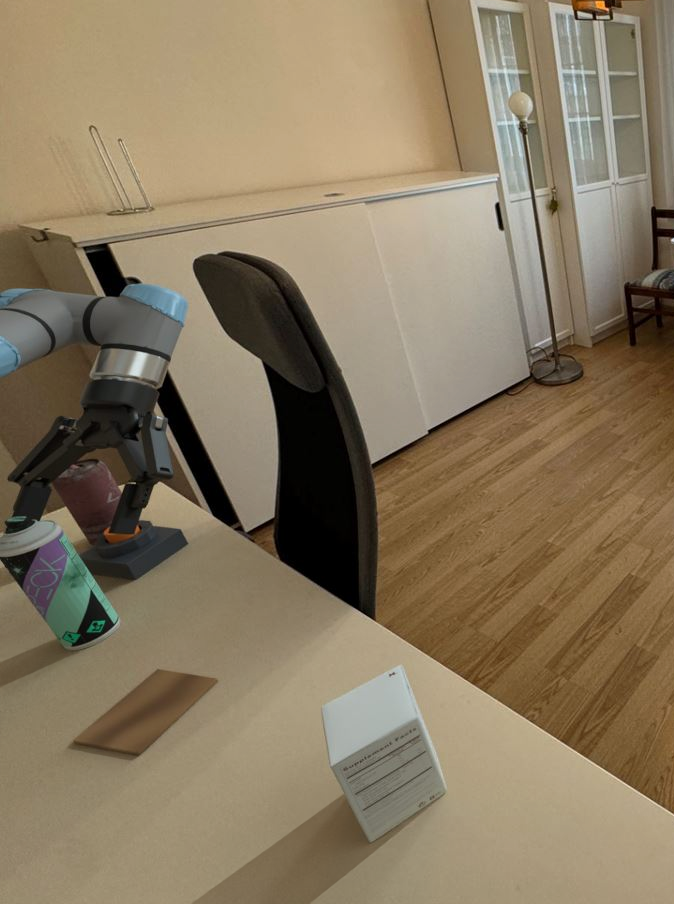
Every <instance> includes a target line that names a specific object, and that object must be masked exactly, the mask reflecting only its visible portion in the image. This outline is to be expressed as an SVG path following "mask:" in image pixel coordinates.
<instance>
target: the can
mask: <svg viewBox="0 0 674 904" xmlns="http://www.w3.org/2000/svg"><path fill="white" fill-rule="evenodd" d="M50 484H51V486H52V488H53V489H54V490H55V492H56V493H57V495H58V496H59V498H60V499H61V502H62V503H63V504H64V506H65V507H66V509H67V510H68V512H69V514H70V515H71V517H72V518H73V520H74V521H75V523H76V525H77V526H78V527H79V529H80V531H81V532H82V534H83V535H84V537H85V538H86V540H87V542H88V544H90V545H92V546H94V542H95V541H96V540H97V539H98V538H99V537H100V536H101V535H103V534H104V531H105V530H106V529H107V528H109V527H110V526H111V523H112V520H113V517H114V515H115V512H116V509H117V506H118V503H119V500H120V497H121V494H122V491H121V488H120V487H119V485H118V484H117V482H116V480H115V478H114V477H113V475H112V473H111V472H110V470H109V468H108V466H107V464H106V462H103V461H101V460H100V459H98V458H86V459H85V458H84V459H81V460H80V459H79V460H78V461H77V462H75V463H74V464H73V465H72V466H71V467H69V468H68V469H67V470H66V471H65V472H63V473H62V474H61V475H60V476H59V477H57V478H56V479H55V480H54V481H52V482H51V483H50Z"/></svg>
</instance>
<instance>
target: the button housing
mask: <svg viewBox="0 0 674 904" xmlns="http://www.w3.org/2000/svg"><path fill="white" fill-rule="evenodd" d="M137 525H138V527H139V529H140V531H139V533H137V534H136V535H134V536H132V537H131V538H128V539H126V540H123V541H121V542H116V543H109V542H108V540H107V539H106V537H105V535H104V534H103V535H101V536H100V537H99V538H98V539H97V540H96V541H95V542H94V545H92V546H91V547H89V548H87V549H86V550H84V551H82V552H80V553H78V555H79V557H80V558H81V560H82V561H83V563H84V564H85V566H86V567H87V569H88V570H89V572H90V573H91V575H96V576H103V577H112V578H117V579H118V578H119V579H127V580H133V581H136V580H138V579H140V578H141V577H143V575H145V574H146V573H148V572H149V571H151V570H153V569H154V568H155V567H157V566H158V565H160V564H161V563H163V562H164V561H166V560H167V559H169V558H170V557H172V556H173V555H174V554H175V553H178V552H179V551H180V550H182V549H183V548H184V547H186V546H187V545H189V541H188V540H187V539H186V536H185V535H184V533H183V530H182V529H181V528H176V527H175V528H174V527H167V526H157V525H153V523H152V521H150V520H144V519H139V521H138V524H137Z"/></svg>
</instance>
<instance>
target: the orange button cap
mask: <svg viewBox="0 0 674 904" xmlns="http://www.w3.org/2000/svg"><path fill="white" fill-rule="evenodd" d="M109 529H110V527H109V528H107V529H106V530H105V531H104V535H105V537H106V539H107V540H108V542H109V543H116V542H121V541H123V540H126V539H128V538H131V537H132V536H134V535H136V534H137V533H139V531H140V529H139V527H138V525H137V527H136V530H135V533H134V534H131V535H127V534H111V533H108V532H109Z"/></svg>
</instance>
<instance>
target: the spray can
mask: <svg viewBox="0 0 674 904" xmlns="http://www.w3.org/2000/svg"><path fill="white" fill-rule="evenodd" d="M4 524H5V526H6V528H5V529H4V530H3V532H2V534H3V535H1V536H0V562H1V563H2V564H3V566H4V567H5V568H6V570H7V571H8V573H9V574H10V575H11V577H12V578H13V579H14V581H15V582H16V583H17V585H18V587H20V589H21V591H22V592H23V593H24V594H25V596H26V597H27V598H28V599H29V601H30V603H31V604H32V606H33V607H34V608H35V610H36V611H37V613H38V614H39V615H40V616H41V618H42V619H43V621H44V622H45V623H46V624H47V626H48V627H49V629H50V630H51V631H52V633H53V634H54V636H55V637H56V638H57V640H58V641H59V642H60V644H61V646H63V647H64V649H65V650H67V651H72V652H73V651H79V650H84V649H86V648H87V649H88V648H90V647H92V646H94V645H97V644H98V643H100V642H102V641H104V640H106V639H108V637H110V636H111V635H112V634H113V633H115V632H116V631H117V630H118V629H119V627H120V625H121V622H122V621H121V618H120V616H119V614H118V613H117V612H116V610H115V608H114V607H113V606H112V604H111V603H110V601H109V599H108V598H107V597H106V595H105V594H104V591H103V590H102V588H101V587H100V586H99V584H98V583H97V581H96V580H95V578H94V576H93V574H91V573H90V572H89V570H88V569H87V567H86V566H85V564H84V563H83V561H82V560H81V558H80V557H79V553H78V552H77V551H76V549H75V547H74V546H73V544H72V543H71V541H70V539H69V538H68V537H67V535H66V533H65V532H64V531H63V529H62V527H61V526H60V525H59V524H57V522H56V521H55V520H52V519H45V520H40V521H37V520H32V519H28V518H27V517H26V516H25V515H17V516H14V517H12V516H11V517H9V518H7V519H6V520H5V521H4Z"/></svg>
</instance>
